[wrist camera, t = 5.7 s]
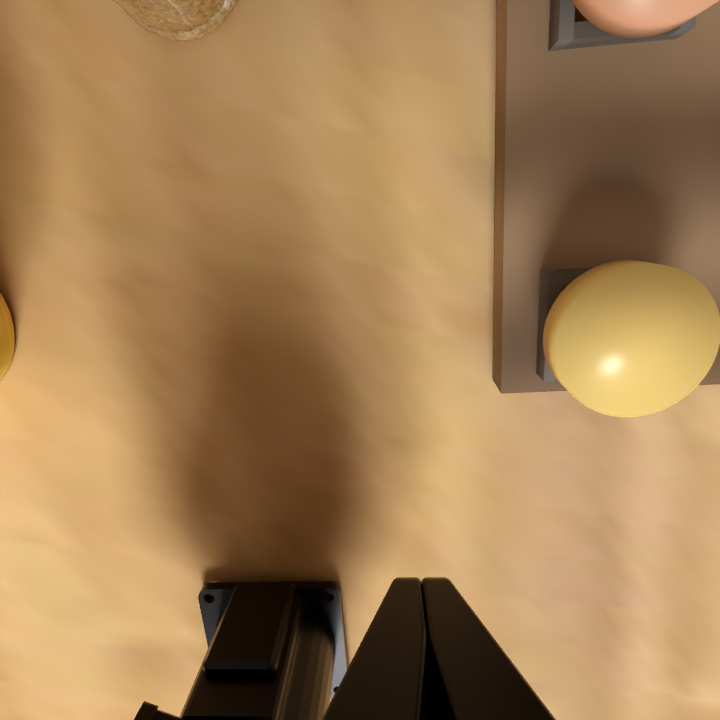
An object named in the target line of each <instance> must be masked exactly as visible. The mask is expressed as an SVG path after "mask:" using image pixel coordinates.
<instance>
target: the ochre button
mask: <svg viewBox="0 0 720 720" xmlns="http://www.w3.org/2000/svg"><path fill="white" fill-rule="evenodd" d="M719 345H720V315H719V310H718V308H717V305H716V303H715V300H714V299H713V297H712V295H711V294H710V292H709V291H708V290H707V289H706V287H705V286H704V285H703V284H702V283H701V282H700V281H698V280H697V279H696V278H695V277H693V276H692V275H690V274H688V273H687V272H684V271H682V270H680V269H678V268H674V267H670V266H666V265H661V264H655V263H650V262H644V261H637V260H621V261H613V262H609V263H605V264H602V265H599V266H597V267H594V268H592V269H590V270H588V271H586V272H585V273H583V274H582V275H580V276H579V277H577V278H576V279H574V280H573V281H572V282H571V283H570V284H569V285H568V286H567V287H566V288H565V289H564V290H563V291H562V292H561V293H560V295H559V296H558V297H557V299H556V300H555V302H554V303H553V305H552V307H551V309H550V311H549V314H548V316H547V319H546V322H545V326H544V332H543V349H544V355H545V358H546V361H547V364H548V366H549V368H550V370H551V372H552V373H553V375H554V376H555V378H556V379H557V380H558V381H559V382H560V383H561V384H562V385H563V386H564V387H565V388H566V389H567V390H568V391H569V392H570V393H571V394H572V395H573V396H574V397H575V398H576V399H577V400H578V401H580V402H581V403H582V404H583V405H585V406H587V407H588V408H590V409H592V410H594V411H597V412H599V413H602V414H606V415H609V416H616V417H637V416H644V415H648V414H652V413H655V412H658V411H661V410H663V409H666V408H668V407H670V406H672V405H674V404H675V403H677V402H679V401H680V400H682V399H683V398H684V397H686V396H687V395H688V394H689V393H691V392H692V391H693V390H694V389H695V388H696V387H697V386H698V385H699V383H700V382H701V381H702V380H703V379H704V377H705V376H706V374H707V373H708V372H709V370H710V368H711V366H712V364H713V362H714V360H715V358H716V355H717V352H718V349H719Z"/></svg>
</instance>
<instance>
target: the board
mask: <svg viewBox="0 0 720 720" xmlns="http://www.w3.org/2000/svg"><path fill="white" fill-rule="evenodd" d="M621 260H637V261H644V262H650V263H655V264H661V265H666V266H670V267H674V268H678V269H680V270H682V271H684V272H687V273H688V274H690V275H692V276H693V277H695V278H696V279H697V280H698V281H700V282H701V283H702V284H703V285H704V286H705V287H706V289H707V290H708V291H709V292H710V294H711V295H712V297H713V299H714V300H715V303H716V305H717V308H718V310H719V315H720V1H718V2H717V3H715V4H713V5H712V6H710V7H709V8H707V9H706V10H704V11H703V12H701V13H700V14H698V15H697V16H695V17H694V18H692V19H690V20H689V21H687V22H686V23H684V24H682V25H681V26H679V27H677V28H675V29H673V30H670V31H668V32H665V33H662V34H659V35H656V36H650V37H645V38H628V37H620V36H617V35H613V34H610V33H607V32H605V31H603V30H601V29H599V28H598V27H596V26H595V25H593V24H592V23H590V22H589V21H588V20H587V19H586V18H585V17H584V16H583V15H582V14H581V13H580V12H579V10H578V9H577V8H576V6H575V5H574V3H573V2H572V0H497V17H496V112H495V208H494V303H493V381H494V383H495V384H496V386H497V387H498V389H499V391H500V392H501V393H523V392H547V391H568V390H567V389H566V388H565V387H564V386H563V385H562V384H561V383H560V382H559V381H558V380H557V379H556V378H555V376H554V375H553V373H552V372H551V370H550V368H549V366H548V364H547V361H546V358H545V355H544V349H543V332H544V326H545V322H546V319H547V316H548V314H549V311H550V309H551V307H552V305H553V303H554V302H555V300H556V299H557V297H558V296H559V295H560V293H561V292H562V291H563V290H564V289H565V288H566V287H567V286H568V285H569V284H570V283H571V282H572V281H573V280H574V279H576V278H577V277H579V276H580V275H582V274H583V273H585V272H586V271H588V270H590V269H592V268H594V267H597V266H599V265H602V264H605V263H609V262H613V261H621ZM711 384H720V345H719V349H718V352H717V355H716V358H715V360H714V362H713V364H712V366H711V368H710V370H709V372H708V373H707V374H706V376H705V377H704V379H703V380H702V381H701V382H700V383H699V385H711Z"/></svg>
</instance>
